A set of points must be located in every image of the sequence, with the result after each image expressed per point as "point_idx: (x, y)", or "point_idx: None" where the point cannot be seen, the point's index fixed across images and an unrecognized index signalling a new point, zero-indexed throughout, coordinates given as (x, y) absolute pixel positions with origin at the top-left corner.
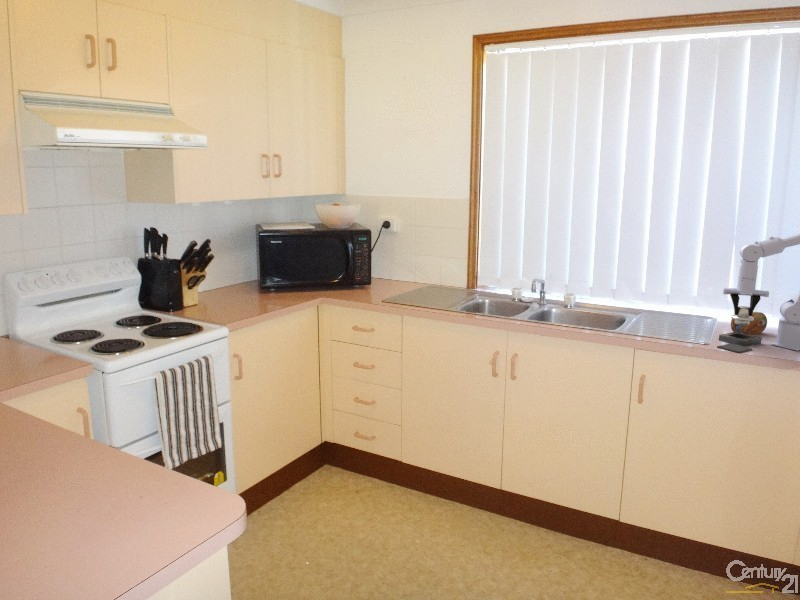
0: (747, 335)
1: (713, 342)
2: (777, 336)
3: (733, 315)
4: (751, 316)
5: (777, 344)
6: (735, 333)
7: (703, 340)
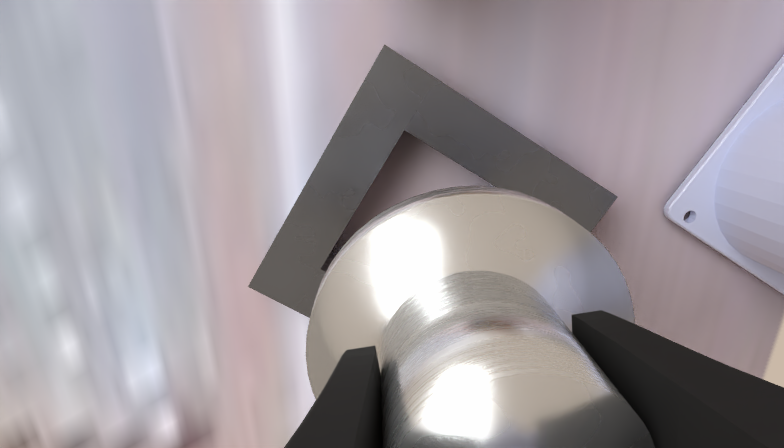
0: (496, 167)
1: (234, 358)
2: (768, 220)
3: (332, 341)
4: (610, 269)
5: (714, 228)
6: (385, 138)
7: (153, 335)
